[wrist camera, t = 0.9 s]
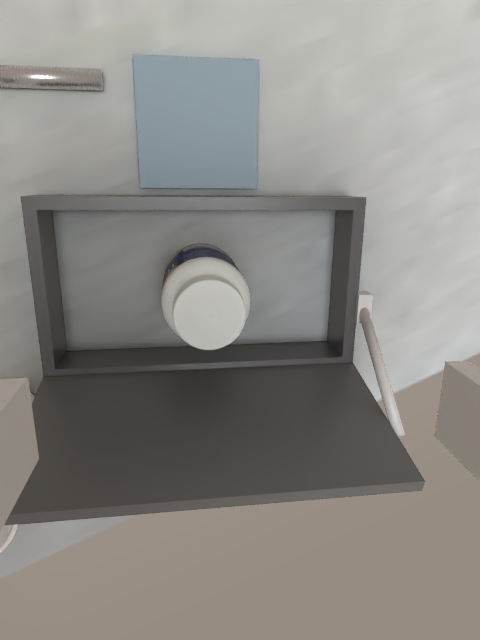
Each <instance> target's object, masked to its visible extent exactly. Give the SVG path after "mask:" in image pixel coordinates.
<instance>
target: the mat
mask: <svg viewBox="0 0 480 640" xmlns="http://www.w3.org/2000/svg"><path fill="white" fill-rule="evenodd" d="M133 68H134V86H135V105H136V123H137V142H138V160H139V179H140V188H242V189H257V164H258V104H259V60H254V59H230V58H206V57H182V56H158V55H134V54H133Z"/></svg>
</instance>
